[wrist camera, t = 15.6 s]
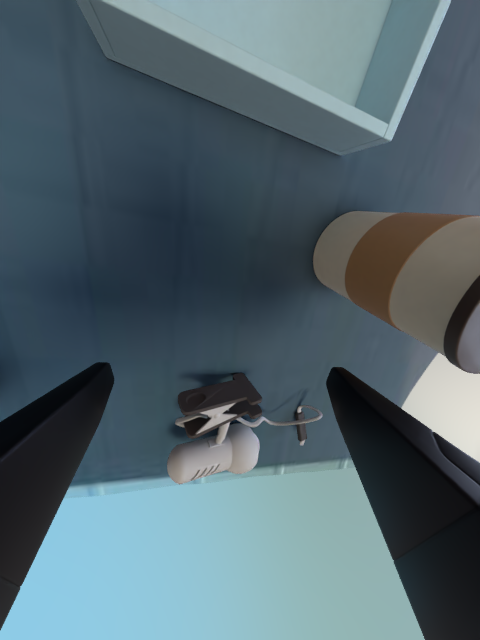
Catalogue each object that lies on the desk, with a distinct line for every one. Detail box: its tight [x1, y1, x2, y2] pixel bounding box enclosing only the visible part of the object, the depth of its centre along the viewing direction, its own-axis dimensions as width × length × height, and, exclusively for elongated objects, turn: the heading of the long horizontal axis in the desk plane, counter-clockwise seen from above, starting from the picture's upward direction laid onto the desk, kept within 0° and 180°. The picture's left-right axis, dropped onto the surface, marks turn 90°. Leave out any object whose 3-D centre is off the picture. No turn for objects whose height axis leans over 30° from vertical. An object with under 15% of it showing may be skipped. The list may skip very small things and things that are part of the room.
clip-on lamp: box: [167, 373, 323, 484], centre depth 24 cm, size 12×6×18 cm
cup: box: [313, 211, 480, 374], centre depth 14 cm, size 7×7×12 cm
